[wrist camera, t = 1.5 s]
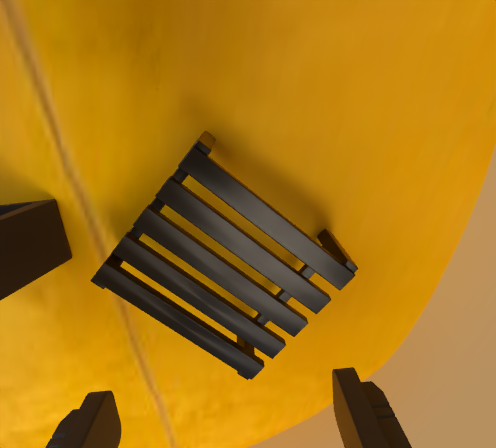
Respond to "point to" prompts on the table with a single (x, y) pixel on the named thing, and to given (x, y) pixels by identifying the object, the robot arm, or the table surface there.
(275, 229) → the rack
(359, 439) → the robot arm
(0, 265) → the phone stand
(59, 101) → the table surface
